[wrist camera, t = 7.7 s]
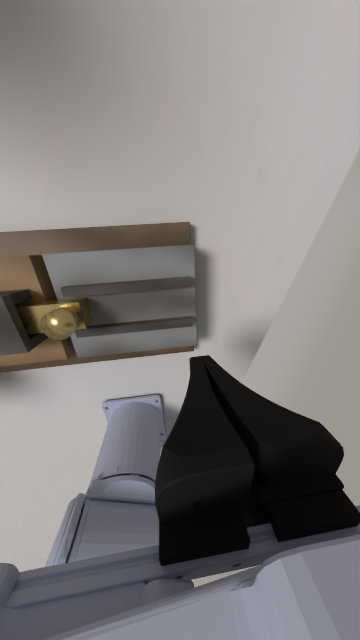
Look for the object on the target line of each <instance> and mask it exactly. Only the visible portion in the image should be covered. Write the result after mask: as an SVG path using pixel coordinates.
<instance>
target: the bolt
mask: <svg viewBox="0 0 360 640" xmlns="http://www.w3.org/2000/svg"><path fill="white" fill-rule="evenodd" d="M14 306H15V308H16V310H17V312H18V314H19V317H20V319H21V321H22V323H23V325H24V328H25V330H26V332H27V334H37V333H44V334H45V335H47V336H48V337H50V338H52V339H55V340H64V339H66V338H68V337H69V336H71V335H72V334H73V333H74V332H75V331H76V330H78V329H86V328H87V327H88V326H89V325H90V324H91V323H92V322H93V321H92V318H91V314H90V311H89V307H88V304H87V300H86V298H76V299H64V300H53V301H41V302H29V303H17V304H14Z"/></svg>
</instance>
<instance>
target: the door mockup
mask: <svg viewBox="0 0 360 640" xmlns="http://www.w3.org/2000/svg"><path fill="white" fill-rule="evenodd" d="M76 298H86V300H87V304H88V307H89V311H90V314H91V318H92V321H93V322H92V323H91V324H90V325H89V326H88V327H87V328H86V329H78V330H76V331H75V332H74V333H73V334H72V335H71V336H69V337H68V338H66V339H64V340H55V339H52V338H50V337H48V336H47V335H45V334H44V333H37V334H27V332H26V330H25V328H24V325H23V323H22V321H21V319H20V317H19V314H18V312H17V310H16V308H15V306H14V304H17V303H29V302H41V301H53V300H64V299H76ZM194 345H197V329H196V293H195V258H194V245H190V222H179V223H161V224H143V225H125V226H107V227H89V228H70V229H52V230H34V231H16V232H0V373H1V372H10V371H19V370H28V369H36V368H45V367H54V366H63V365H72V364H81V363H90V362H99V361H108V360H117V359H125V358H134V357H143V356H152V355H161V354H170V353H179V352H188V351H194Z"/></svg>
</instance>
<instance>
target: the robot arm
mask: <svg viewBox="0 0 360 640" xmlns="http://www.w3.org/2000/svg"><path fill="white" fill-rule="evenodd" d="M156 400H158V401H156ZM102 407H103V410H104V413H105V416H106V419H107V422H108V426H107V430H106V433H105V436H104V439H103V443H102V446H101V449H100V452H99V456H98V459H97V462H96V465H95V469H94V472H93V475H92V478H91V482H90V485H89V488H88V490H87V492H86V495H85V494H82V493H79V494H78V495H77V497H76V498H74V499H73V500H72V501H71V502H70V503H69V505H68V507H67V510H66V513H65V515H64V518H63V520H62V523H61V526H60V528H59V531H58V534H57V536H56V539H55V542H54V545H53V547H52V550H51V553H50V555H49V558H48V561H47V563H46V566H45V567H44V568H38V569H33V570H28V571H23V572H19V571H18V569H17V567H16V566H14V565H12V564H9V563H0V640H360V506H354V505H353V503H352V502H351V501H350V499H349V498H348V497H347V495H346V494H345V493H344V491H343V490H342V489H343V488H344V485H343V483H342V482H341V480H340V479H339V478H338V477H337V476H336V472H337V470H338V468H339V466H340V464H341V462H342V459H343V456H344V451H343V447H342V446H341V445H340V443H339V442H338V441H337V440H336V439H335V438H334V437H333V436H332V435H331V434H330V432H329V431H328V430H327V429H326V428H325V427H324V426H323V425H322V424H320V422H317V421H315V420H312V419H310V418H307V417H305V416H302V415H300V414H297V413H295V412H292V411H290V410H288V409H286V408H284V407H281V406H279V405H277V404H275V403H273V402H271V401H270V400H268V399H266V398H264V397H262V396H260V395H259V394H257V393H255V392H254V391H252V390H250V389H249V388H247V387H246V386H244V385H243V384H242V383H240V382H239V381H237V380H236V379H235V378H234V377H232V376H231V375H230V374H229V373H227V372H226V371H225V370H224V369H223V368H222V367H221V366H220V365H218V364H217V363H216V362H215V361H214V360H213V359H212V358H211V357H210V356H209V355H207V356H198V357H191V358H190V380H189V385H188V389H187V393H186V397H185V400H184V403H183V406H182V408H181V411H180V413H179V416H178V418H177V420H176V422H175V425H174V427H173V429H172V431H171V433H170V434H169V436H168V438H167V440H166V442H165V444H164V445H163V449H162V452H161V456H160V441H163V440H165V439H166V433H165V426H164V419H163V412H162V405H161V398H160V395H158V394H156V395H148V396H141V397H133V398H125V399H117V400H110V401H104V402H103V404H102ZM257 565H260V566H257ZM253 566H257V567H254V568H251V569H248V570H245V571H242V572H239V573H236V574H233V575H230V576H227V577H225V578H222V579H219V580H216V581H213V582H210V583H207V584H204V585H201V586H198V587H195V588H194V584H193V582H192V581H191V580H192V579H196V578H201V577H205V576H210V575H215V574H220V573H224V572H229V571H233V570H238V569H243V568H248V567H253Z"/></svg>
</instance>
